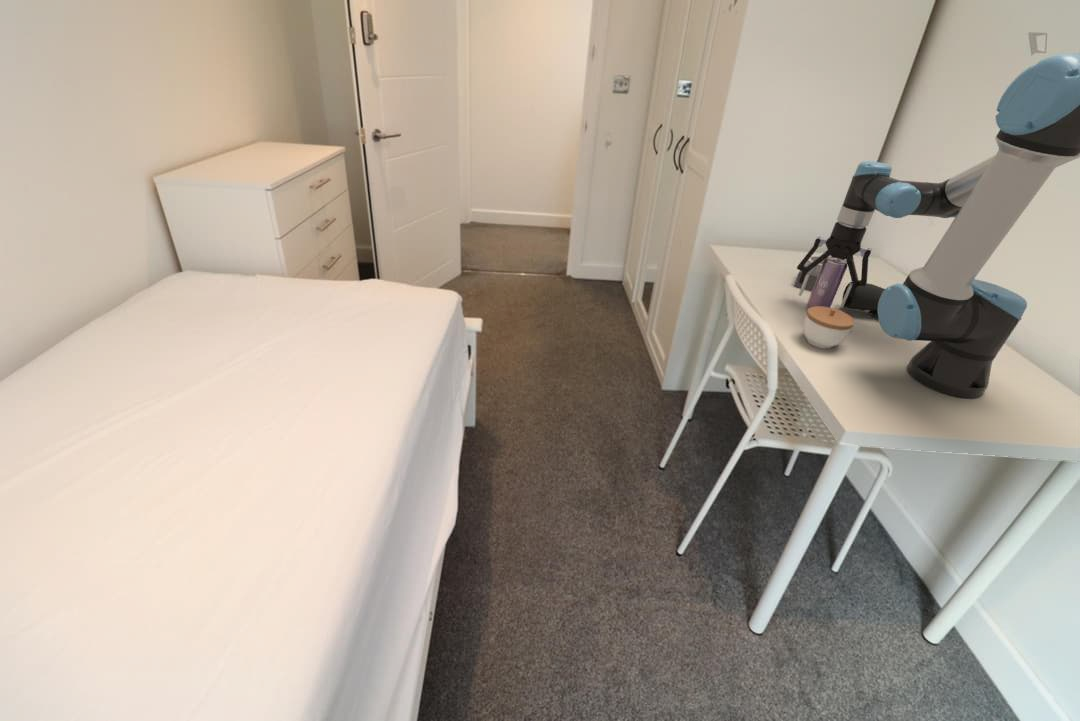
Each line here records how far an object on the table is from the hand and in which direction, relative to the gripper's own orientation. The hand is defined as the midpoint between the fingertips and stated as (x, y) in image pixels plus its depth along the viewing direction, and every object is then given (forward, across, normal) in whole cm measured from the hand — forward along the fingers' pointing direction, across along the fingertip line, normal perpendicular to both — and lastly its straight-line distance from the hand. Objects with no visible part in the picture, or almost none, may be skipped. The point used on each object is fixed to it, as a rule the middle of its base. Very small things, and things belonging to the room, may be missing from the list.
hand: (820, 299), depth 146 cm
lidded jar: (+3, -4, +22) cm, 23 cm away
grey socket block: (+3, +4, -20) cm, 21 cm away
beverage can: (+3, 0, 0) cm, 3 cm away
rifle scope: (+3, -18, -9) cm, 21 cm away
